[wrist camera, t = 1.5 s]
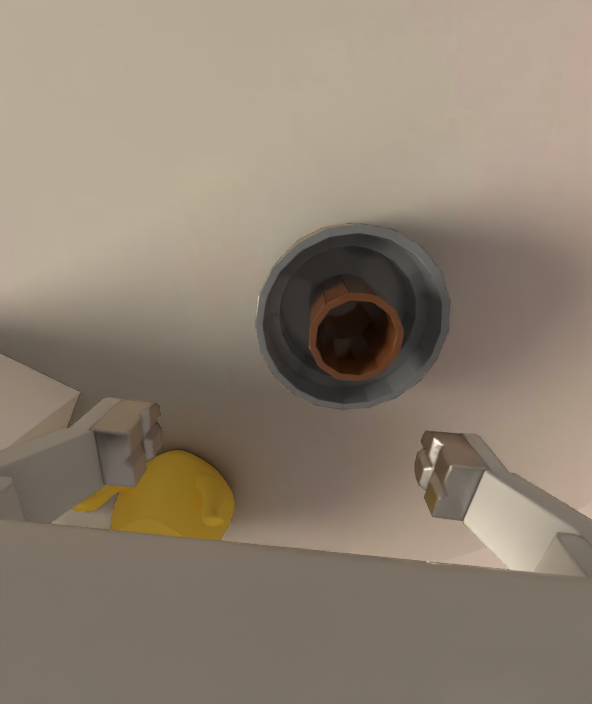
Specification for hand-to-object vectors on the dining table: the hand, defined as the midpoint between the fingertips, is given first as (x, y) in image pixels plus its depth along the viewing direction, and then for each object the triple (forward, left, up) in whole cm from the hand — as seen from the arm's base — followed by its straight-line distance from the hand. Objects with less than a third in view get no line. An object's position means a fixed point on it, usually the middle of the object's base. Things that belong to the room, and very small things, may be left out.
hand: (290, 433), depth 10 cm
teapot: (+22, +14, -20) cm, 33 cm away
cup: (-3, +3, -20) cm, 20 cm away
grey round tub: (-3, +3, -20) cm, 21 cm away
